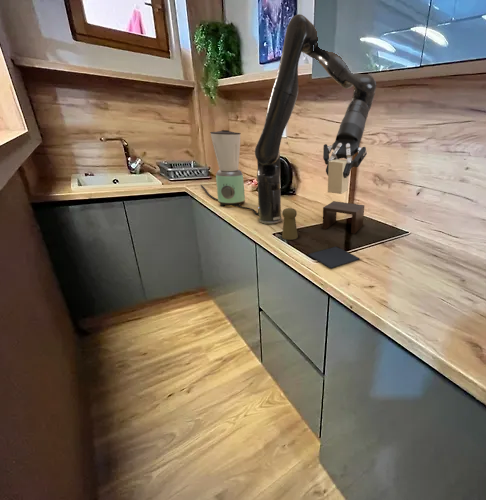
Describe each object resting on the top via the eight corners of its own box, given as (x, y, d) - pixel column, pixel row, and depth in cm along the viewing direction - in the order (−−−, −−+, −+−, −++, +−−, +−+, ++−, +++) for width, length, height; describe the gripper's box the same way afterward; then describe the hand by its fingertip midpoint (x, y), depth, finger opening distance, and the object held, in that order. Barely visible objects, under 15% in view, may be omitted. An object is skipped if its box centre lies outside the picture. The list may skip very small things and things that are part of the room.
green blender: (242, 208, 148) (236, 131, 134) (214, 208, 146) (205, 130, 133) (248, 199, 165) (243, 130, 151) (223, 198, 164) (216, 129, 150)
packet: (327, 192, 91) (328, 161, 87) (334, 188, 96) (335, 159, 92) (341, 194, 90) (342, 162, 86) (347, 190, 95) (349, 160, 91)
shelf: (332, 220, 136) (333, 201, 133) (362, 225, 132) (364, 205, 128) (322, 228, 126) (323, 207, 122) (354, 233, 121) (356, 212, 118)
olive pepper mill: (295, 240, 112) (294, 211, 108) (279, 238, 113) (278, 210, 109) (299, 235, 118) (299, 207, 113) (285, 233, 119) (284, 205, 114)
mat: (308, 255, 100) (308, 254, 100) (336, 247, 107) (336, 246, 107) (330, 269, 92) (330, 267, 92) (359, 259, 99) (359, 258, 99)
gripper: (374, 140, 96) (361, 185, 90) (332, 138, 100) (317, 180, 95) (372, 122, 89) (357, 169, 84) (327, 120, 94) (310, 165, 88)
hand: (336, 175), depth 89 cm, fingers closed on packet, 4 cm apart
